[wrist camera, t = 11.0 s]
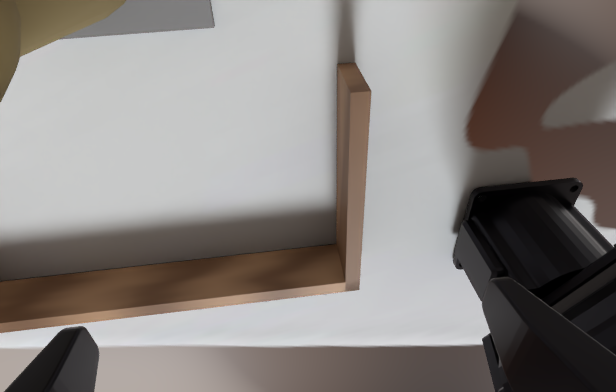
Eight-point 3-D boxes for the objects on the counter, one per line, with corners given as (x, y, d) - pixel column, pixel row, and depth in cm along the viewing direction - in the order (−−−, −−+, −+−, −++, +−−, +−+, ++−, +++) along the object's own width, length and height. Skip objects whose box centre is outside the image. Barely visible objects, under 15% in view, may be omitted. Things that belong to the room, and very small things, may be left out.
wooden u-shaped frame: (355, 62, 18) (371, 91, 16) (349, 251, 26) (359, 289, 23) (-169, 105, 17) (-237, 144, 14) (-13, 292, 24) (-41, 337, 22)
